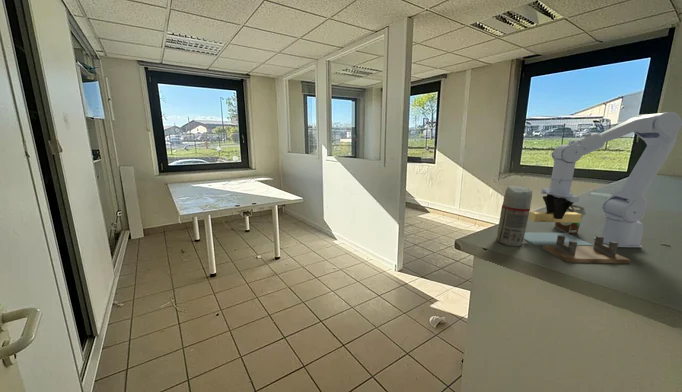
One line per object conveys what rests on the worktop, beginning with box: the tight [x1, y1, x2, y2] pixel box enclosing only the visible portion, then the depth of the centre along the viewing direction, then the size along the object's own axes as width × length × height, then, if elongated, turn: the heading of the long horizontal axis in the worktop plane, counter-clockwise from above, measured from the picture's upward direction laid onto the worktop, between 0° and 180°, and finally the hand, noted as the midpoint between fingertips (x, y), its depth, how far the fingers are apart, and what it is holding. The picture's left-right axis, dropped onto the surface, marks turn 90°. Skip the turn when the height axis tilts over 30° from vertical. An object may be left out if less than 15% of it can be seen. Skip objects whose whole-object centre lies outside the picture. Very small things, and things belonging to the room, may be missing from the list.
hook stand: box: [542, 235, 631, 264], centre depth 83 cm, size 18×10×6 cm, turn 89°
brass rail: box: [528, 210, 583, 224], centre depth 96 cm, size 16×3×3 cm, turn 89°
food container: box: [554, 204, 587, 235], centre depth 106 cm, size 12×6×10 cm, turn 168°
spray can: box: [495, 185, 533, 247], centre depth 92 cm, size 8×8×20 cm
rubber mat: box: [523, 231, 594, 246], centre depth 98 cm, size 20×12×1 cm, turn 89°
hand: (554, 217), depth 96 cm, fingers closed on brass rail, 3 cm apart
